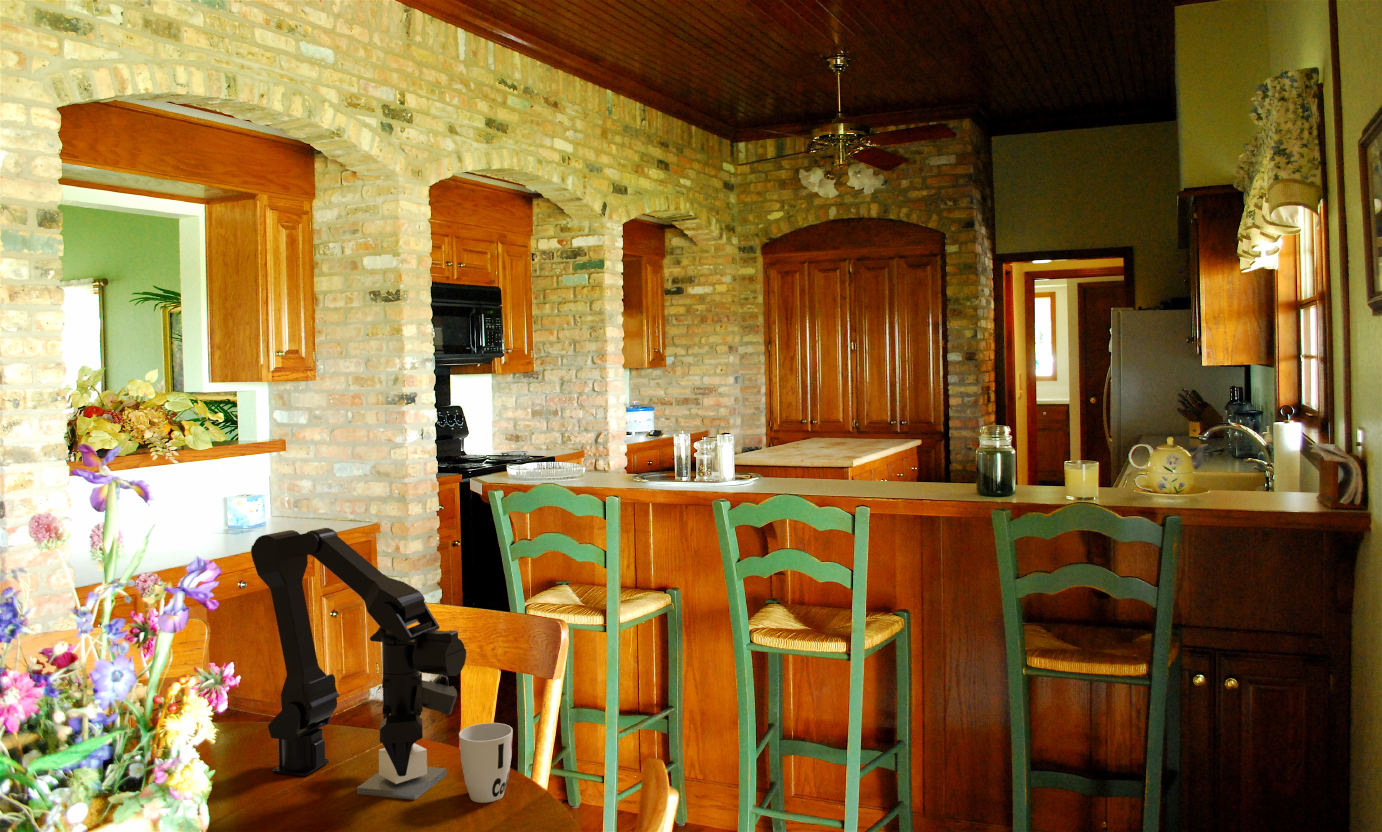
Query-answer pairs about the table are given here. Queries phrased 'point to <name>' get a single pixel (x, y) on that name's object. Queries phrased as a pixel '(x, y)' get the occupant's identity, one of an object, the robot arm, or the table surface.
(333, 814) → the table surface
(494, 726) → the cup
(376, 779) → the post fixture
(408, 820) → the table surface
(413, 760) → the cap
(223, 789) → the table surface
